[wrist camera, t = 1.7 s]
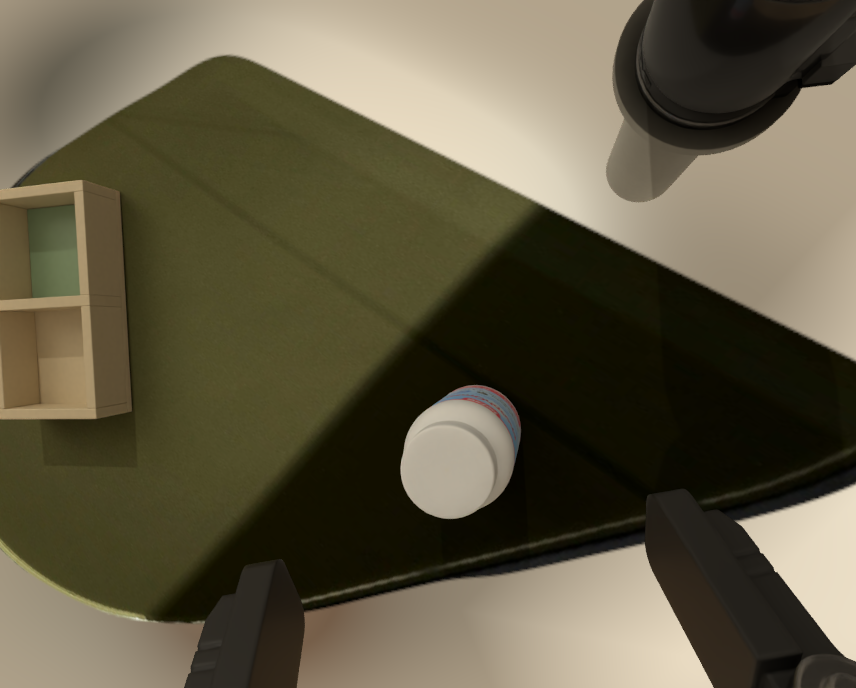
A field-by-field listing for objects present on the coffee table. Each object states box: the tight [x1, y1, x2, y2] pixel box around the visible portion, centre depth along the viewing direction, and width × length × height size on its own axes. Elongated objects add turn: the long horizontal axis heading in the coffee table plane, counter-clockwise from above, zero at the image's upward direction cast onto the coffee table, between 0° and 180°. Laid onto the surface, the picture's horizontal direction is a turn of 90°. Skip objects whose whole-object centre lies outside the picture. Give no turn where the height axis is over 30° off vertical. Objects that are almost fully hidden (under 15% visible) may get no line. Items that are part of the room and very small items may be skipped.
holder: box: [0, 180, 132, 419], centre depth 41 cm, size 17×9×4 cm, turn 3°
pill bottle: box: [401, 385, 521, 519], centre depth 31 cm, size 6×6×11 cm
